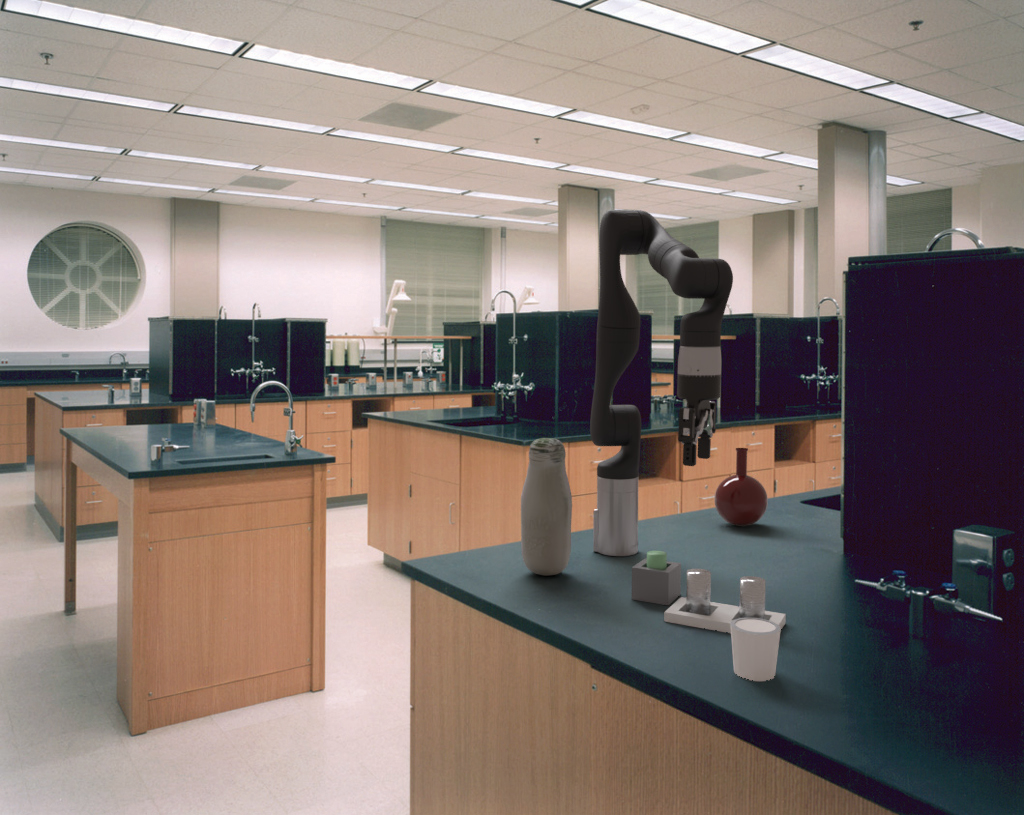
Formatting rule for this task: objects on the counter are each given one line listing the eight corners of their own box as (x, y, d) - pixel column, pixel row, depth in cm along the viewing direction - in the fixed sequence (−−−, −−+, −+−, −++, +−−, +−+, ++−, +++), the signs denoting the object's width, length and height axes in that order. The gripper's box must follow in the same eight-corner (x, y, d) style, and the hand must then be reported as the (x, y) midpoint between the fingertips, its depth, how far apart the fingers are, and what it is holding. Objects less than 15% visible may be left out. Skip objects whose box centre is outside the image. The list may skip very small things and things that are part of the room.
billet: (683, 619, 132) (683, 573, 132) (690, 612, 136) (690, 567, 135) (706, 623, 130) (707, 576, 130) (712, 616, 134) (713, 570, 133)
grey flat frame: (664, 621, 131) (664, 612, 131) (680, 605, 139) (681, 597, 139) (774, 641, 122) (774, 631, 122) (785, 623, 130) (785, 614, 130)
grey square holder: (631, 599, 143) (631, 567, 142) (645, 588, 149) (645, 558, 148) (668, 605, 139) (668, 572, 139) (680, 594, 145) (681, 563, 145)
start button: (643, 586, 143) (644, 554, 143) (650, 581, 146) (650, 549, 146) (662, 589, 141) (662, 556, 141) (668, 583, 145) (669, 552, 144)
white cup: (722, 663, 114) (723, 617, 113) (767, 662, 115) (768, 615, 114) (740, 684, 107) (741, 634, 107) (788, 682, 108) (789, 633, 107)
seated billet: (736, 628, 128) (737, 581, 127) (742, 621, 131) (743, 574, 131) (761, 633, 126) (762, 584, 125) (766, 625, 129) (767, 578, 129)
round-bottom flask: (706, 520, 206) (707, 445, 205) (754, 519, 208) (755, 444, 206) (725, 532, 193) (726, 452, 192) (776, 530, 195) (777, 451, 193)
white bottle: (514, 577, 156) (513, 439, 154) (534, 564, 166) (534, 434, 163) (559, 584, 152) (559, 442, 150) (578, 570, 161) (578, 436, 159)
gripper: (708, 375, 130) (705, 470, 132) (731, 370, 142) (728, 457, 144) (665, 373, 134) (663, 466, 136) (691, 369, 146) (688, 454, 148)
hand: (696, 461), depth 140 cm, fingers open, 8 cm apart
